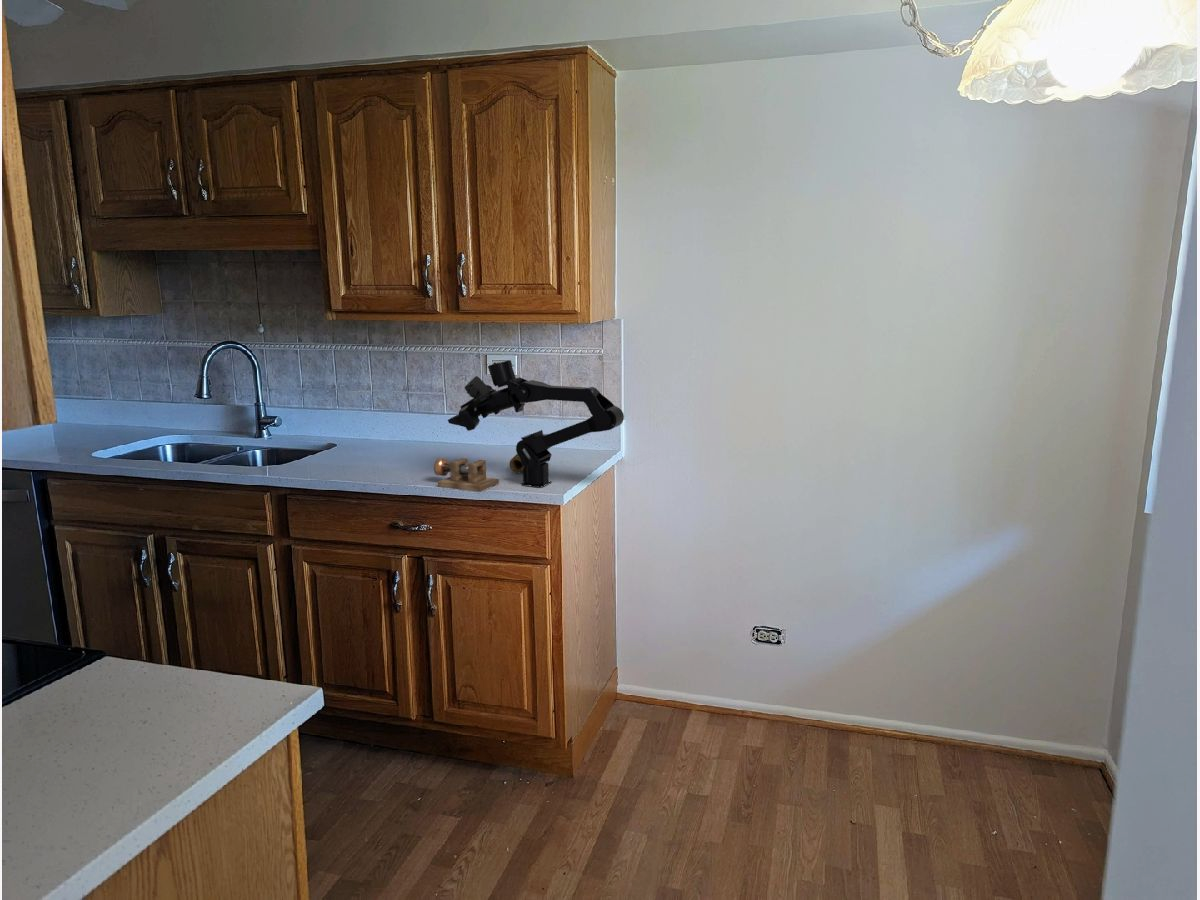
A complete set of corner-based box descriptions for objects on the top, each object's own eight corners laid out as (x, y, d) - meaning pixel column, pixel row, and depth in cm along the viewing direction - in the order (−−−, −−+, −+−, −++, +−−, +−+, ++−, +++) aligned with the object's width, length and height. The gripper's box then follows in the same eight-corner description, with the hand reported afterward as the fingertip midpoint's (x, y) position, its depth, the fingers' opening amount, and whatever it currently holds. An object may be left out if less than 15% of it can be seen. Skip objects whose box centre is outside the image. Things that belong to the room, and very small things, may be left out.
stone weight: (525, 464, 271) (525, 443, 270) (546, 465, 269) (546, 444, 268) (507, 474, 257) (507, 452, 256) (529, 475, 255) (529, 454, 254)
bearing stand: (499, 484, 245) (498, 460, 243) (480, 491, 236) (479, 467, 234) (457, 479, 250) (457, 455, 249) (437, 486, 242) (437, 462, 240)
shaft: (480, 477, 244) (480, 460, 243) (471, 481, 239) (470, 463, 238) (444, 473, 249) (443, 456, 248) (434, 476, 245) (433, 459, 244)
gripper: (499, 362, 249) (455, 377, 255) (474, 389, 233) (428, 404, 239) (515, 396, 252) (471, 410, 259) (492, 424, 237) (446, 438, 243)
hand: (454, 414), depth 250 cm, fingers open, 9 cm apart
